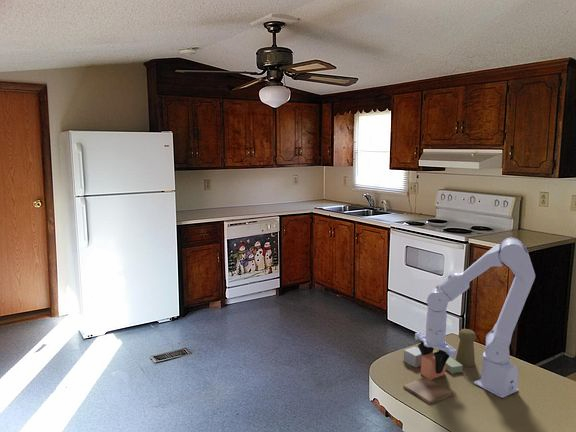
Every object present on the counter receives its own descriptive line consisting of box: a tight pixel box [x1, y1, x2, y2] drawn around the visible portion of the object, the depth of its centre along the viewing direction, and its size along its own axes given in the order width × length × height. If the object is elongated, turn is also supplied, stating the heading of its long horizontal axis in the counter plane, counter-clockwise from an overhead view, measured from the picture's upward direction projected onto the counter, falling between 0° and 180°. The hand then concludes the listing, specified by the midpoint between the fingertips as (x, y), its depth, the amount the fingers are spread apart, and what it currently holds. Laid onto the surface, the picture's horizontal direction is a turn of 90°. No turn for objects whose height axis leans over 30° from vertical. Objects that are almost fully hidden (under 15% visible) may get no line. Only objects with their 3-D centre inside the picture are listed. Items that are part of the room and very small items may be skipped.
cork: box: [455, 328, 477, 368], centre depth 153 cm, size 6×6×11 cm
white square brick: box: [403, 346, 422, 368], centre depth 153 cm, size 5×5×4 cm
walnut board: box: [403, 376, 453, 405], centre depth 136 cm, size 10×9×1 cm
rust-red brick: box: [420, 351, 447, 381], centre depth 145 cm, size 4×6×6 cm, turn 122°
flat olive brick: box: [445, 357, 464, 375], centre depth 150 cm, size 6×4×2 cm, turn 18°
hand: (433, 369), depth 146 cm, fingers closed on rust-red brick, 4 cm apart
